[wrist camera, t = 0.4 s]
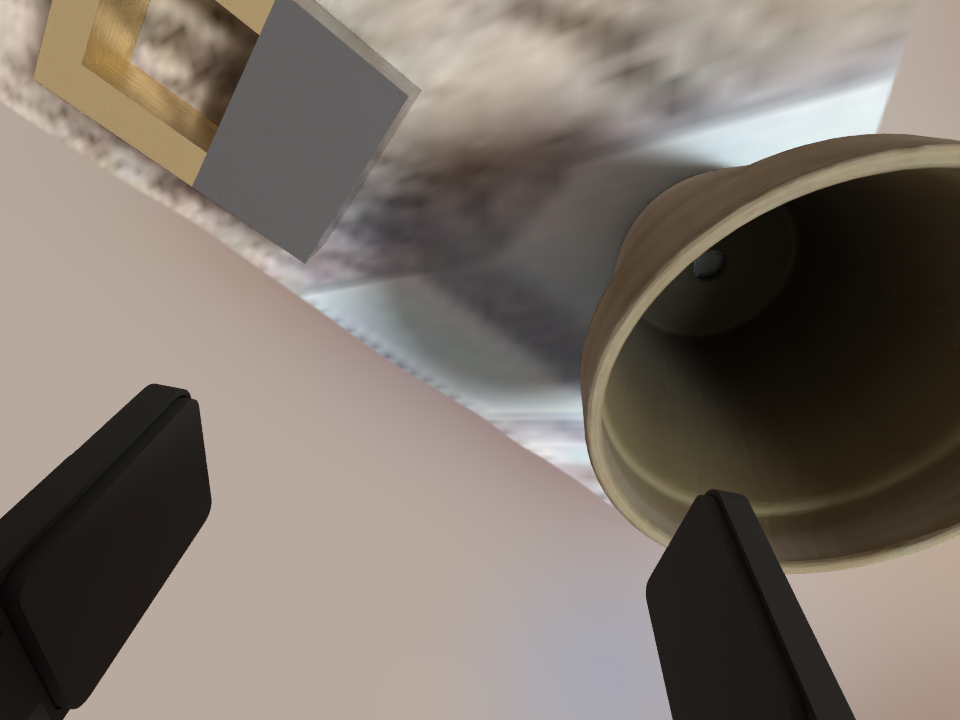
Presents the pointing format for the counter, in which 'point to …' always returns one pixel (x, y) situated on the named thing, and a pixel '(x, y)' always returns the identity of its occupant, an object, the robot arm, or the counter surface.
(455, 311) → the counter surface
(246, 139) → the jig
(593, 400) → the plant pot
